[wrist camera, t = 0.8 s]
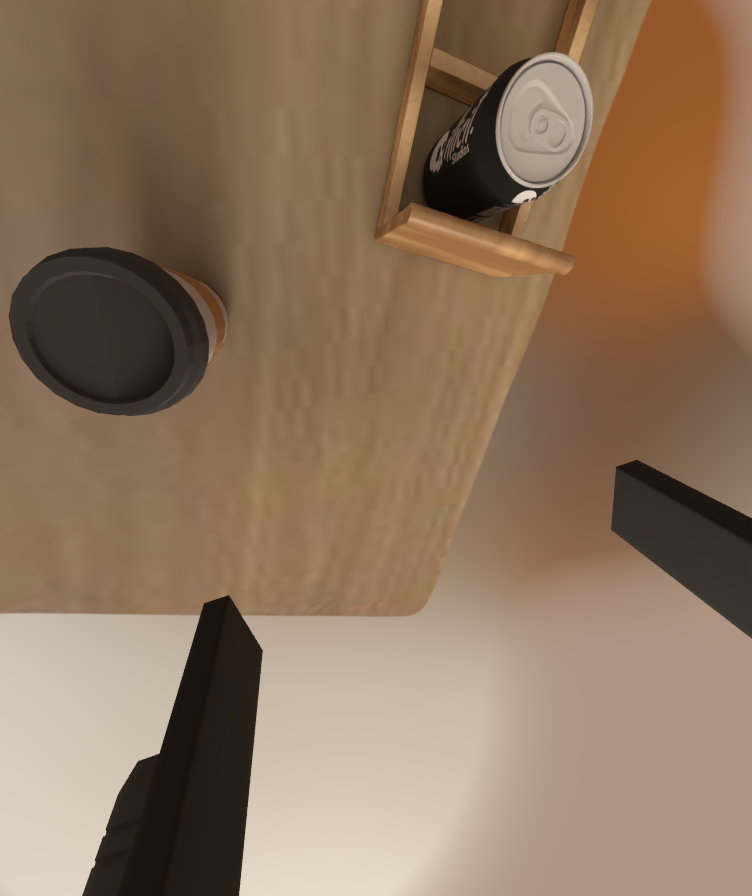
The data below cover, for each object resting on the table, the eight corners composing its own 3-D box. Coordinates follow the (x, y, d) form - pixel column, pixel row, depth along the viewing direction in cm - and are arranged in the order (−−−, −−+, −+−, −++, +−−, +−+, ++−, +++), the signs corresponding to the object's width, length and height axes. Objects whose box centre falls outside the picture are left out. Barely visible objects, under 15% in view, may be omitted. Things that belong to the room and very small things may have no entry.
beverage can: (437, 116, 28) (524, 10, 17) (506, 154, 30) (622, 79, 19) (409, 209, 30) (471, 166, 19) (475, 239, 32) (564, 214, 21)
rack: (454, -170, 22) (571, -507, 13) (604, -71, 25) (785, -282, 16) (374, 242, 31) (408, 222, 21) (494, 278, 34) (570, 274, 24)
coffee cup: (238, 268, 29) (188, 253, 16) (244, 369, 33) (208, 426, 19) (124, 257, 28) (-38, 229, 14) (143, 365, 31) (26, 424, 18)
